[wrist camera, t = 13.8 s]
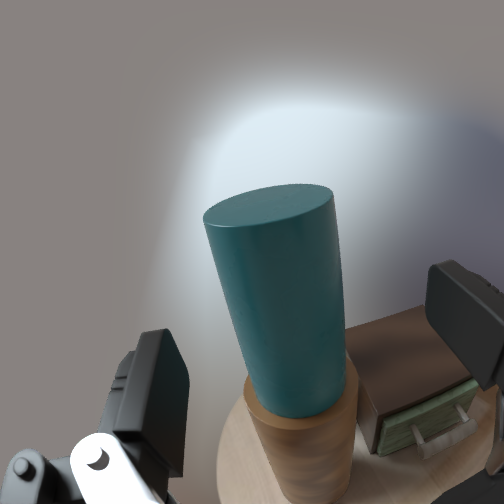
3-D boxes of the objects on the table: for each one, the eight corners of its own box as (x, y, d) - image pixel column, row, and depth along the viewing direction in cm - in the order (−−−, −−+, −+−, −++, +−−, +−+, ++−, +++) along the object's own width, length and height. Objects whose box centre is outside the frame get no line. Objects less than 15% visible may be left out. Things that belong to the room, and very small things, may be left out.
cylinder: (259, 427, 16) (197, 238, 11) (251, 362, 21) (206, 200, 17) (358, 403, 16) (354, 204, 11) (331, 342, 21) (312, 177, 17)
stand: (285, 515, 22) (247, 440, 15) (276, 460, 29) (240, 356, 22) (357, 497, 22) (375, 408, 15) (340, 445, 29) (338, 333, 22)
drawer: (478, 443, 21) (500, 410, 19) (391, 487, 21) (403, 462, 19) (420, 357, 37) (427, 320, 34) (347, 382, 37) (347, 346, 34)
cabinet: (460, 414, 27) (480, 368, 23) (370, 454, 27) (377, 415, 23) (416, 350, 39) (422, 304, 36) (338, 376, 39) (336, 331, 36)
